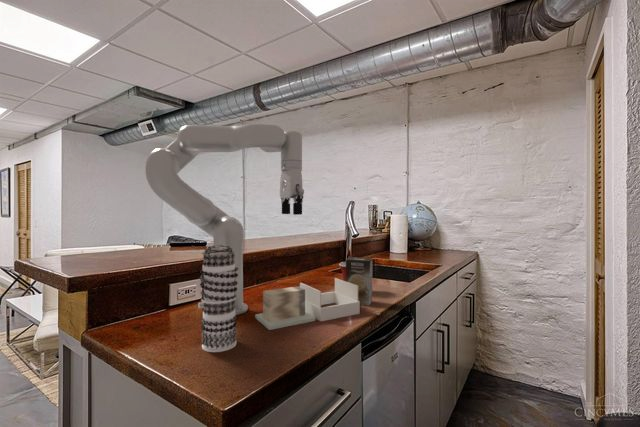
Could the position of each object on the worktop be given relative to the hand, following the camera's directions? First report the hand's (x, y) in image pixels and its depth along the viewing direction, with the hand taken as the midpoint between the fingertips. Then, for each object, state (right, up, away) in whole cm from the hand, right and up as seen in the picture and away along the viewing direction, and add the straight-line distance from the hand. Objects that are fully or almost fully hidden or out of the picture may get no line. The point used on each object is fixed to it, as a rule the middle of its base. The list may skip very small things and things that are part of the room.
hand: (291, 214), depth 117 cm
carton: (+13, -33, -8) cm, 36 cm away
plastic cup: (+24, -32, +18) cm, 44 cm away
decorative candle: (-15, -33, -35) cm, 50 cm away
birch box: (-1, -32, -16) cm, 35 cm away
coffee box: (+25, -33, +2) cm, 41 cm away
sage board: (-1, -33, -16) cm, 36 cm away
